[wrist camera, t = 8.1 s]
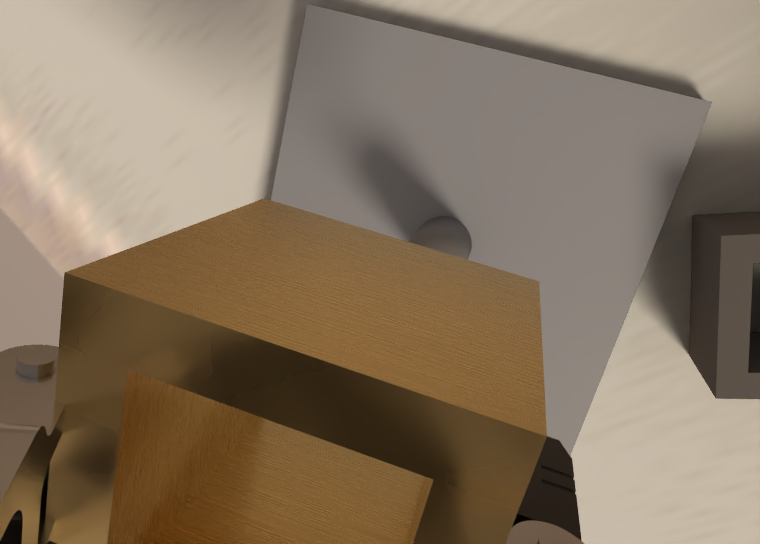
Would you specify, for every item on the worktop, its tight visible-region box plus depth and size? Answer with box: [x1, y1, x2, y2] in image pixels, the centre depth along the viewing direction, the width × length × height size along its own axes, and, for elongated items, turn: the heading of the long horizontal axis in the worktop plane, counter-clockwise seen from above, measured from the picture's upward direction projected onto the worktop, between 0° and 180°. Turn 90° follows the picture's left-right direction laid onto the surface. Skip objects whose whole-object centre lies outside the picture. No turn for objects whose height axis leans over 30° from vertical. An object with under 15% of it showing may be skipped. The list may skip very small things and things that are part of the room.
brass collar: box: [46, 198, 547, 544], centre depth 11 cm, size 6×6×6 cm
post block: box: [271, 4, 712, 455], centre depth 24 cm, size 16×16×6 cm
